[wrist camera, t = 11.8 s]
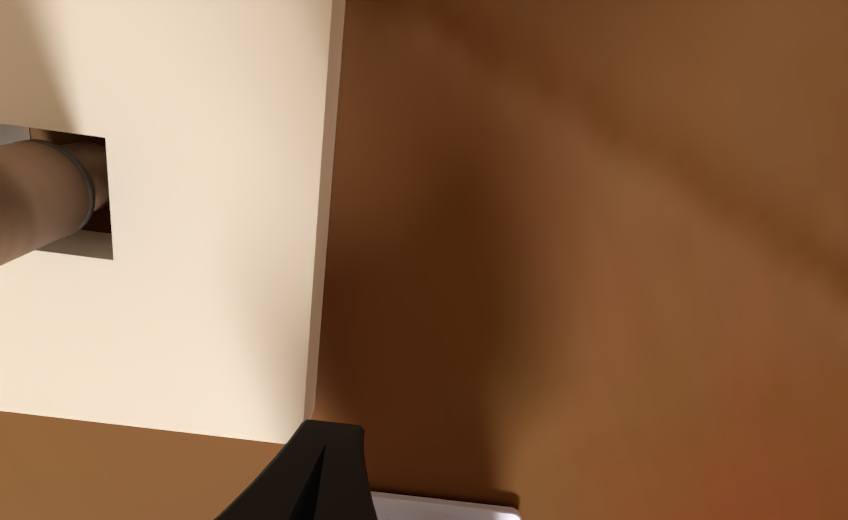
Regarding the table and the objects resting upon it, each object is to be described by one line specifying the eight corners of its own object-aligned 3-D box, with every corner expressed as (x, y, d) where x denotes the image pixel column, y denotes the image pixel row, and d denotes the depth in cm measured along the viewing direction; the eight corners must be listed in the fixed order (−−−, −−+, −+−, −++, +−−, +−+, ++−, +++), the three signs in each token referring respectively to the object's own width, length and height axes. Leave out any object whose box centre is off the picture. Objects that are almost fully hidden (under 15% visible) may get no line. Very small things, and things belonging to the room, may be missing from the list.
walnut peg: (136, 221, 21) (-33, 310, 13) (51, 210, 20) (-170, 293, 13) (132, 137, 19) (-56, 180, 12) (42, 125, 19) (-205, 160, 12)
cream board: (314, 407, 23) (301, 445, 21) (-107, 357, 23) (-170, 391, 20) (350, -57, 17) (337, -77, 15) (-224, -144, 17) (-332, -179, 14)
